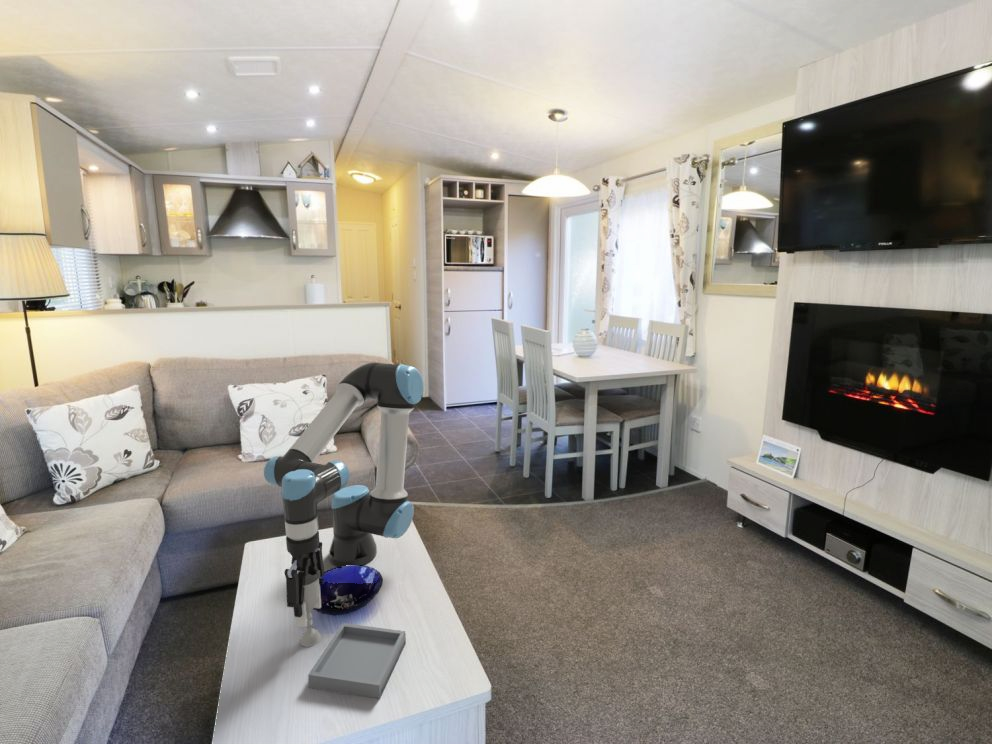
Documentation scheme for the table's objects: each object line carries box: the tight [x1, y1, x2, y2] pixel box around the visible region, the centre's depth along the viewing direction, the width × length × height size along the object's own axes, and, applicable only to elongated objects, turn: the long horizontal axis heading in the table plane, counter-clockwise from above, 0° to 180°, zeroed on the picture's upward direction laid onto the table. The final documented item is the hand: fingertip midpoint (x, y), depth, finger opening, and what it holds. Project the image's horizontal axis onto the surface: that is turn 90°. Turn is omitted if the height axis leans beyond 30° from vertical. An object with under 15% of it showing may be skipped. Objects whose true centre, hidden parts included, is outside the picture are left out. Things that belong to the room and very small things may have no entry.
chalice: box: [299, 570, 322, 648], centre depth 127 cm, size 7×7×18 cm
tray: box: [307, 622, 407, 700], centre depth 121 cm, size 17×17×4 cm
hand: (308, 615), depth 127 cm, fingers closed on chalice, 6 cm apart
